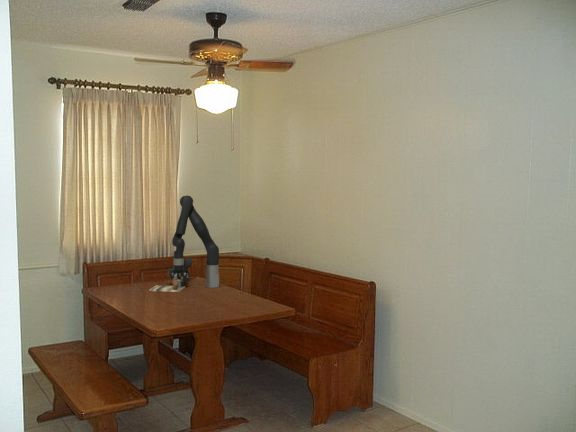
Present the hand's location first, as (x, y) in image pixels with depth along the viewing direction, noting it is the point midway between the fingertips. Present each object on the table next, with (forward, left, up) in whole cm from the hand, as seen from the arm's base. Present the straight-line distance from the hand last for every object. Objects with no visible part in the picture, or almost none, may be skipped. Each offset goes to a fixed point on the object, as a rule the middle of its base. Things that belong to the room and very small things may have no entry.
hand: (178, 286), depth 411 cm
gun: (+4, -16, -2) cm, 17 cm away
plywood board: (+8, +4, -2) cm, 9 cm away
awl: (+1, +9, -1) cm, 9 cm away
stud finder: (0, 0, -1) cm, 1 cm away
